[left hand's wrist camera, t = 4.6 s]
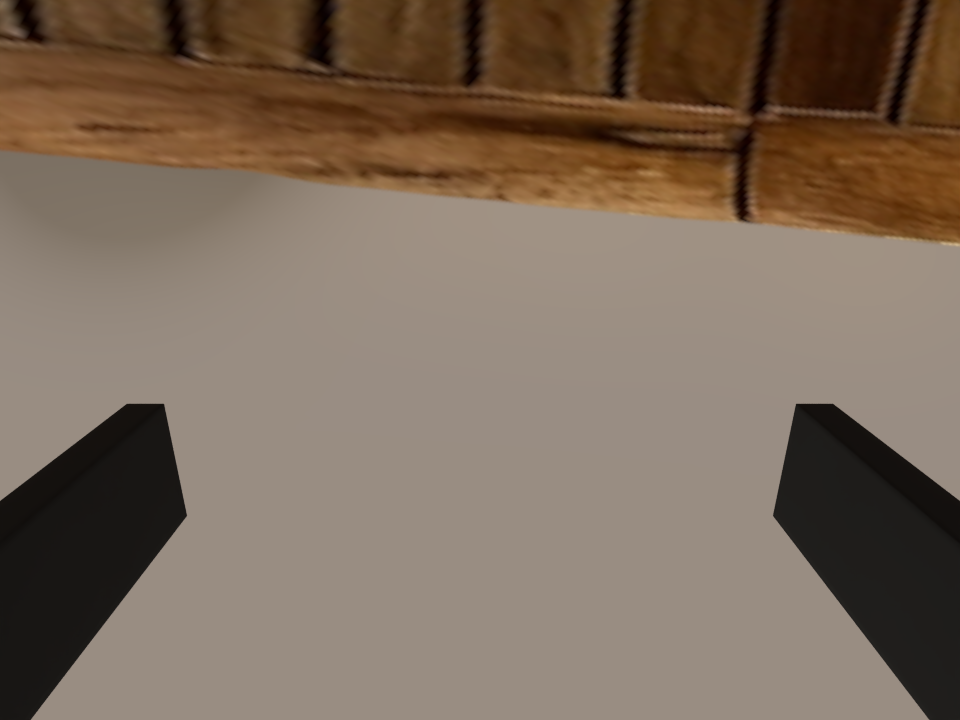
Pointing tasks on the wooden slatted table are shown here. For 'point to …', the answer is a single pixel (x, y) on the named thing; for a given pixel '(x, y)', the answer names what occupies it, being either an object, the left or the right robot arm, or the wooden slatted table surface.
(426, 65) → the wooden slatted table surface
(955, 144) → the wooden slatted table surface
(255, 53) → the wooden slatted table surface
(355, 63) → the wooden slatted table surface
